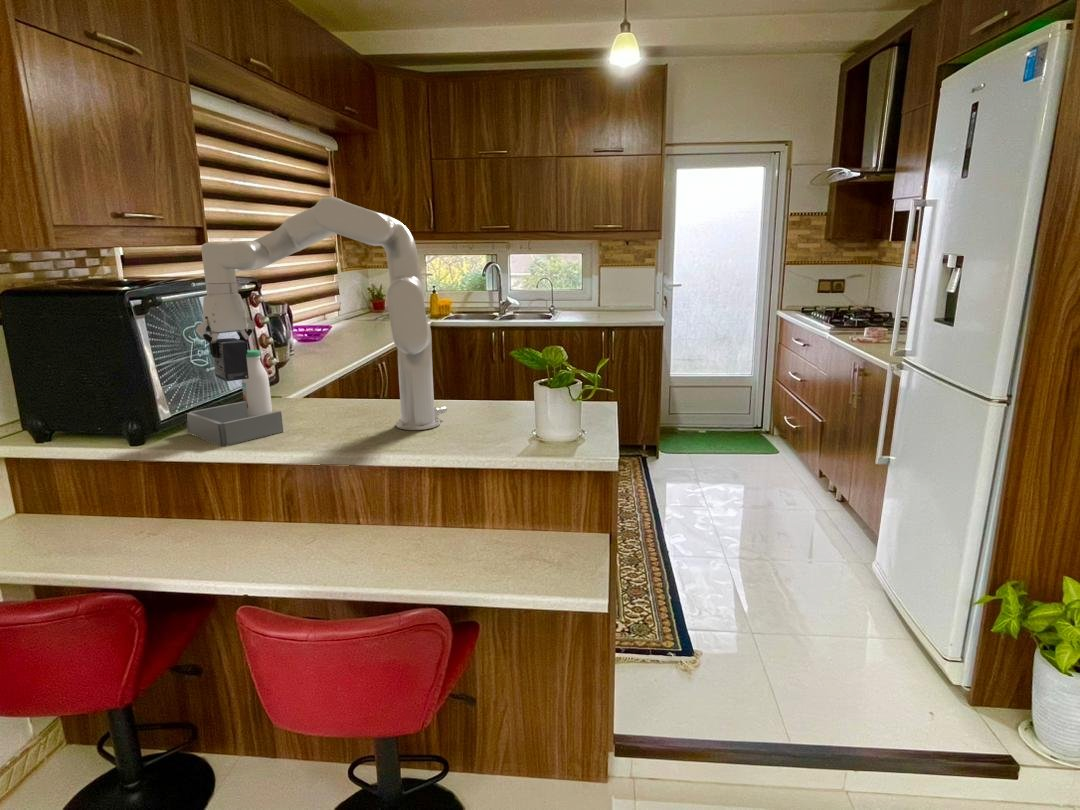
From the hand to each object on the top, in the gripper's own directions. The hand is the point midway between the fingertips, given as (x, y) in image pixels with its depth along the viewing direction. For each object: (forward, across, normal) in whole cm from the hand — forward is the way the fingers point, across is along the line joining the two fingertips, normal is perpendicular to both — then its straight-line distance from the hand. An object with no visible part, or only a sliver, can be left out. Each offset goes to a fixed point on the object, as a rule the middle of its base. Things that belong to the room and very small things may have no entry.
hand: (230, 355), depth 183 cm
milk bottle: (+22, -13, -14) cm, 29 cm away
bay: (+22, 0, 0) cm, 22 cm away
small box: (+7, 0, 0) cm, 7 cm away
